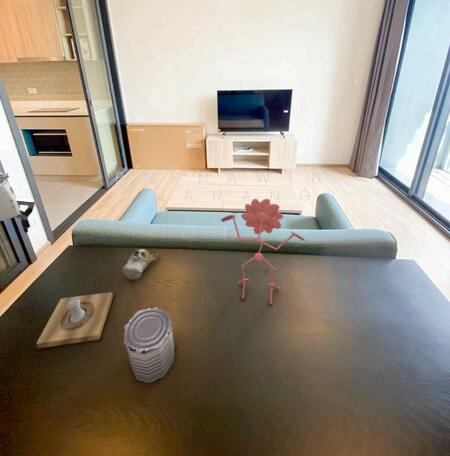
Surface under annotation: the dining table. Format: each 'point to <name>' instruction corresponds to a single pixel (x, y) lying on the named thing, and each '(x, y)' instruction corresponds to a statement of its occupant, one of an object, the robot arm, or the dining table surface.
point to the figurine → (261, 229)
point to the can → (149, 343)
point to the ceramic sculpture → (138, 263)
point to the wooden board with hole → (81, 331)
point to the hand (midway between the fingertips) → (5, 237)
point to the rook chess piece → (76, 310)
